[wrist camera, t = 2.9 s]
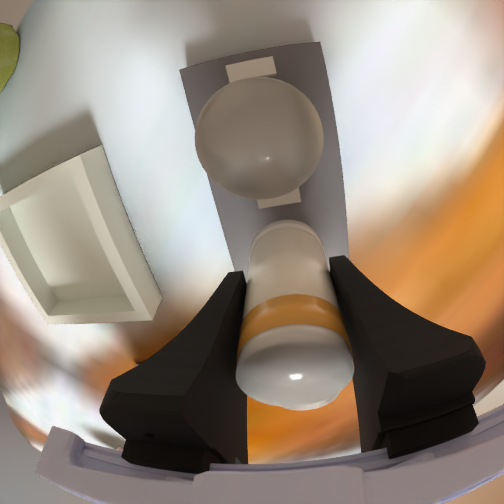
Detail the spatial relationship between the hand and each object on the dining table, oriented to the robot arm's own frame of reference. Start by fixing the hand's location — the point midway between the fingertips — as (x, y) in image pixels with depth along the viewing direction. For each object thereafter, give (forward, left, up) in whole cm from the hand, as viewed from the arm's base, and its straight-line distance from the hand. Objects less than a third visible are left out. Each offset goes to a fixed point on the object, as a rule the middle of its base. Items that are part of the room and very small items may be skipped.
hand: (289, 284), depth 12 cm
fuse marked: (0, 0, -2) cm, 2 cm away
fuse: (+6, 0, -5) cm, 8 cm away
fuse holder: (0, 0, -7) cm, 7 cm away
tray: (+1, +16, -7) cm, 17 cm away
